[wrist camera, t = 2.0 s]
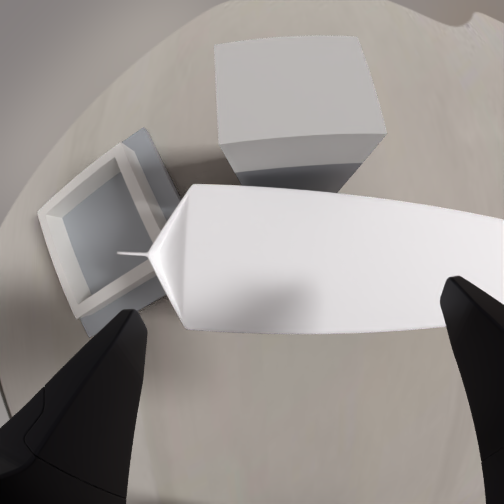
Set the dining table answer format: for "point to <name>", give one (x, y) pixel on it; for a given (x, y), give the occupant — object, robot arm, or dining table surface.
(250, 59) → the plug
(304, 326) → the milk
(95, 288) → the socket plate
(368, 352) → the dining table surface
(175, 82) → the dining table surface
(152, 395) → the dining table surface
